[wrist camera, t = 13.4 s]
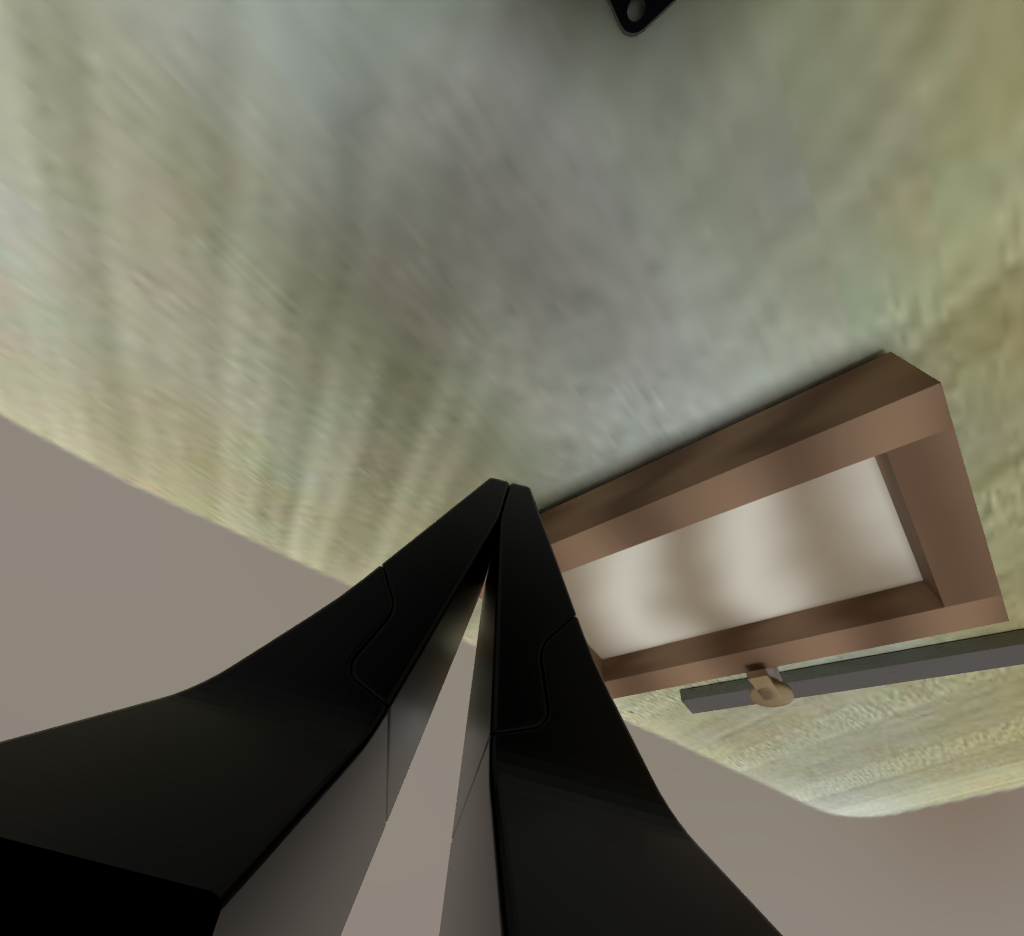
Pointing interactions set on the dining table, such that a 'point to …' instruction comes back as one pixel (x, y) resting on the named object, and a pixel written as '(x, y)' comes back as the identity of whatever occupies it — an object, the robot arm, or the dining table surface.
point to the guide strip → (873, 671)
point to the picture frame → (782, 540)
